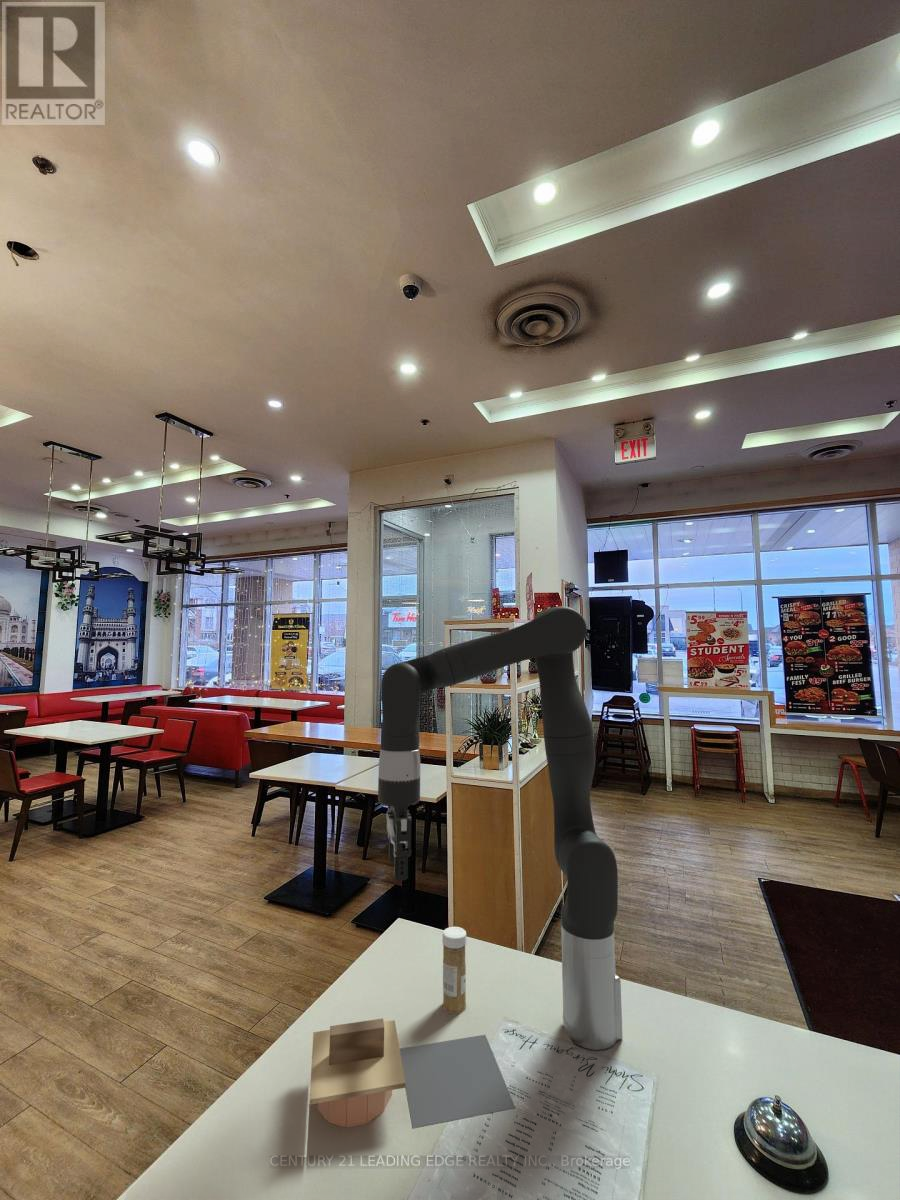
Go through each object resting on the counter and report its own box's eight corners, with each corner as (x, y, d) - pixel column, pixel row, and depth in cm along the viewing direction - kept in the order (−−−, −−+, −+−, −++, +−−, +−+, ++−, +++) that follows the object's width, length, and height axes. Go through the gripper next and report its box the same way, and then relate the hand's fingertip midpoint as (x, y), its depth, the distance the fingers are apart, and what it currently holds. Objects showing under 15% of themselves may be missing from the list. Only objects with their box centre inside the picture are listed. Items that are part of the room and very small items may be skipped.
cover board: (394, 1024, 84) (395, 993, 85) (405, 1087, 71) (405, 1051, 72) (313, 1036, 81) (314, 1004, 82) (309, 1104, 69) (310, 1066, 69)
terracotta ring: (387, 1063, 82) (387, 1029, 83) (395, 1121, 72) (395, 1082, 72) (318, 1075, 80) (320, 1040, 80) (316, 1136, 69) (318, 1095, 70)
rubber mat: (485, 1037, 88) (485, 1034, 88) (515, 1111, 73) (515, 1107, 73) (398, 1051, 85) (398, 1048, 85) (412, 1132, 70) (412, 1128, 70)
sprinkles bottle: (471, 1011, 95) (471, 933, 96) (450, 1020, 92) (451, 940, 94) (457, 997, 98) (457, 923, 100) (437, 1006, 96) (437, 929, 98)
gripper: (427, 782, 85) (426, 884, 83) (413, 766, 99) (412, 853, 97) (382, 784, 84) (380, 889, 82) (375, 767, 98) (373, 856, 96)
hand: (397, 869), depth 89 cm, fingers open, 8 cm apart
